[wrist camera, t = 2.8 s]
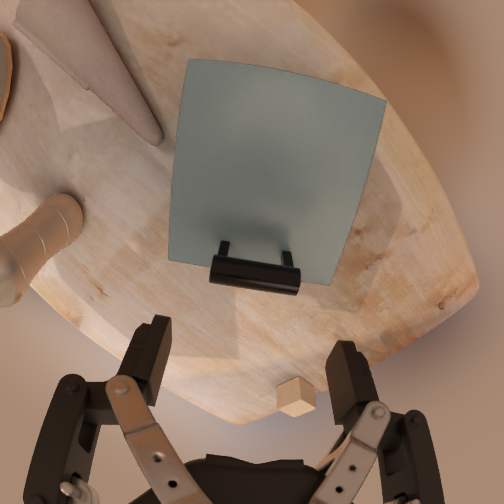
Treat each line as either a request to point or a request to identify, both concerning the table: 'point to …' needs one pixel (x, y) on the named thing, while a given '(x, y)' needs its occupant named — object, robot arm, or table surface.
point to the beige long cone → (87, 57)
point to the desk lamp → (4, 72)
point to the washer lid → (268, 174)
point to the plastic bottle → (36, 244)
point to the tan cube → (295, 397)
